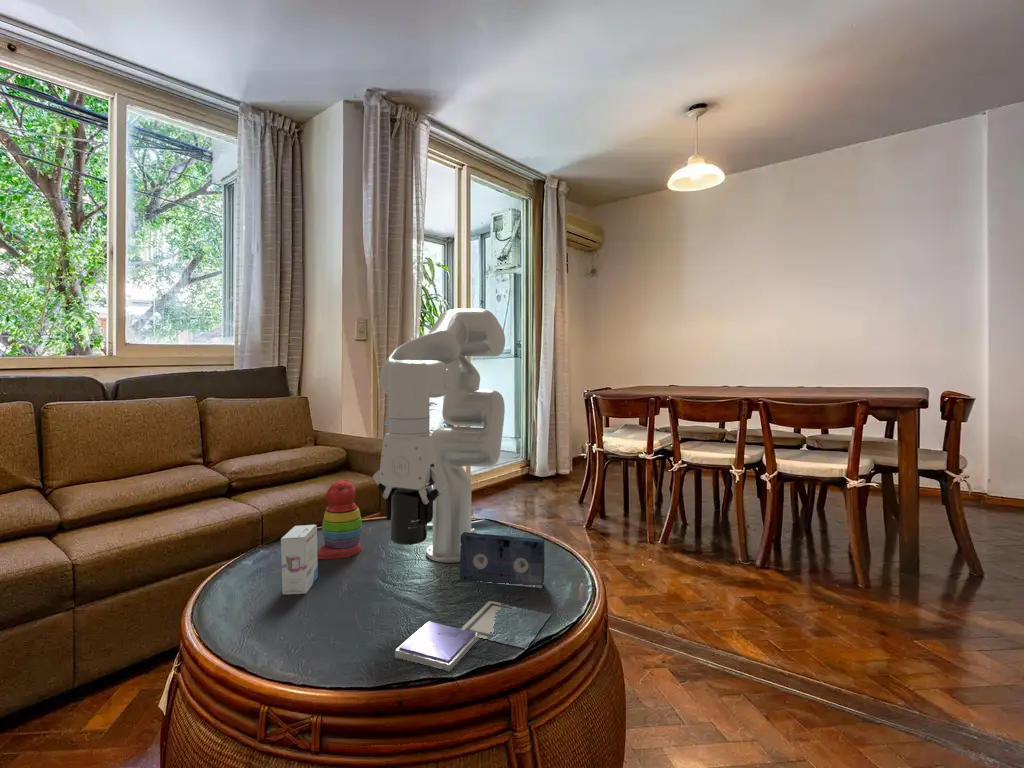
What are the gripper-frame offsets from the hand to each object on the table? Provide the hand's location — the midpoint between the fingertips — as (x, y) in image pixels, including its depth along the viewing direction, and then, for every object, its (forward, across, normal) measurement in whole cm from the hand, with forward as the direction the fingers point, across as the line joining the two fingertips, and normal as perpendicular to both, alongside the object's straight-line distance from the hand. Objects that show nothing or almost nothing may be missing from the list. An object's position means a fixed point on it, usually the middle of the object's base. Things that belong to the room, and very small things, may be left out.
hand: (409, 519), depth 96 cm
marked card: (+17, +19, +3) cm, 26 cm away
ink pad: (+17, +12, -9) cm, 23 cm away
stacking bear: (+18, -33, +19) cm, 42 cm away
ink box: (+18, -27, 0) cm, 32 cm away
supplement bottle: (+4, 0, 0) cm, 4 cm away
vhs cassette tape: (+18, +11, +19) cm, 28 cm away
